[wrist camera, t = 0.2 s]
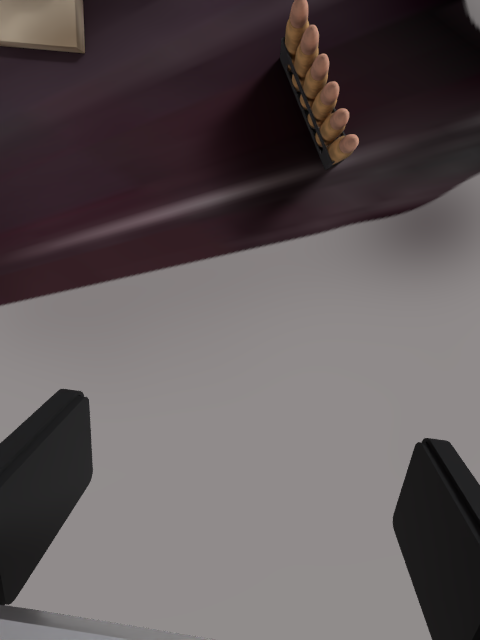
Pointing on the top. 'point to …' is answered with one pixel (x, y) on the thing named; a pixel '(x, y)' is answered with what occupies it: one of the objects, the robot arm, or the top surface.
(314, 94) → the ammunition clip
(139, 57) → the top surface
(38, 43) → the board
